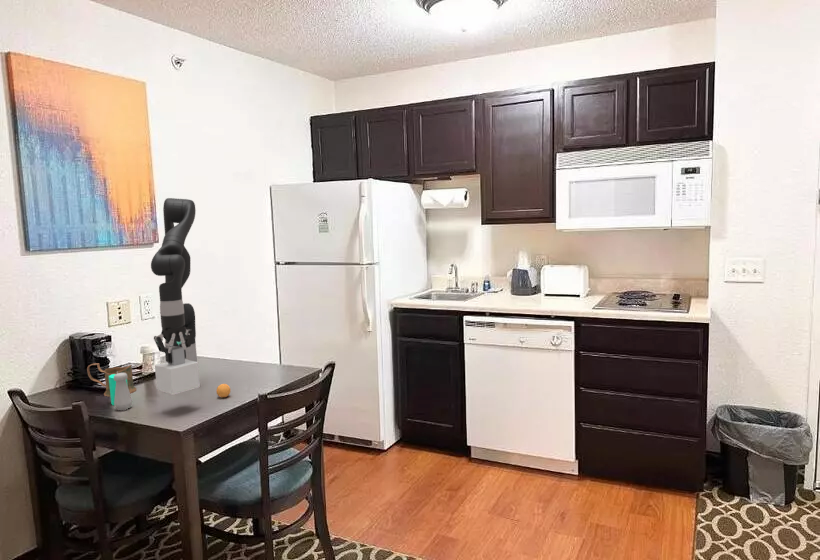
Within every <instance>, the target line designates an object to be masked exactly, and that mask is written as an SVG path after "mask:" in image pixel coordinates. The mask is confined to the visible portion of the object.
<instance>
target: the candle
mask: <svg viewBox="0 0 820 560" xmlns="http://www.w3.org/2000/svg"><path fill="white" fill-rule="evenodd" d="M117 374H118V373H117ZM114 376H115V374H111V375H110V376H109V386H110V396H111V397H110V402H111V404H112V405H111V404H110V405H111V406H115V405H114V400H115V389H116V381H115V380H114ZM126 383H127V379H126ZM127 386H128V385H127Z"/></svg>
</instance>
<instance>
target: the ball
mask: <svg viewBox="0 0 820 560" xmlns="http://www.w3.org/2000/svg"><path fill="white" fill-rule="evenodd" d="M230 394H231V386H229V385H228V384H227V383H222V384H221V383H220V384H219V385H218V386H217V388H216V395H217V396H218V397H220V398H227V397H228V396H229V395H230Z"/></svg>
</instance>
